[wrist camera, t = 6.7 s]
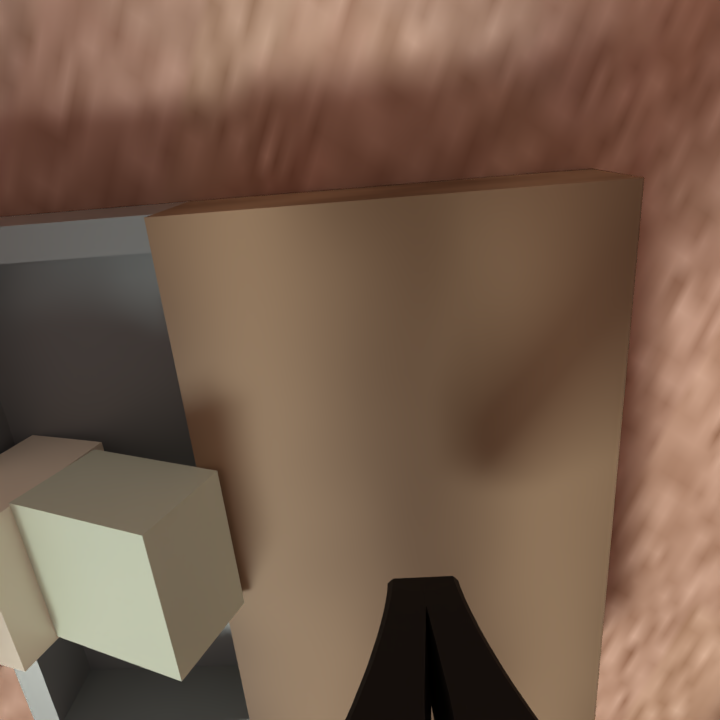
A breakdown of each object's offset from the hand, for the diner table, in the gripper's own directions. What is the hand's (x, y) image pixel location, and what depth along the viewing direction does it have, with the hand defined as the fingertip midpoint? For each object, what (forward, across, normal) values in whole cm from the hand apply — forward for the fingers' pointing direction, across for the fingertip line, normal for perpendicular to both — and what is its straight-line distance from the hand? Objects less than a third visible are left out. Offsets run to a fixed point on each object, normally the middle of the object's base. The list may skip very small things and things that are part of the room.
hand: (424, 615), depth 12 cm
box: (+6, +9, 0) cm, 11 cm away
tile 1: (+3, +6, 0) cm, 7 cm away
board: (+6, 0, 0) cm, 6 cm away
